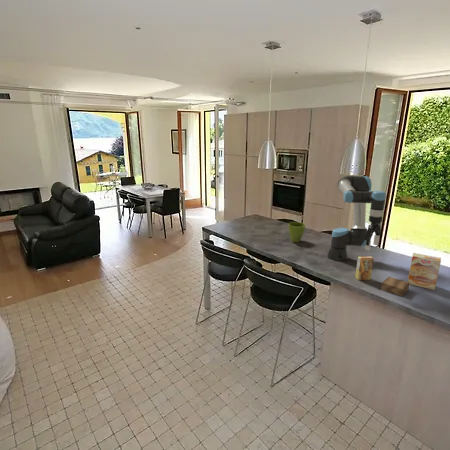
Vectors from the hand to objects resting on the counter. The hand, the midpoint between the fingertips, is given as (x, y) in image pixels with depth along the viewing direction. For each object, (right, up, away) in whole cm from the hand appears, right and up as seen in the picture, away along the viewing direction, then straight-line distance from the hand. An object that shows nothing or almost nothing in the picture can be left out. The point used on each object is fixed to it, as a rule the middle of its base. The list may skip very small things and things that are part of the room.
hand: (371, 247), depth 197 cm
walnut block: (+10, -26, -9) cm, 29 cm away
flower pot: (-31, 0, +78) cm, 84 cm away
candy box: (-3, -22, +6) cm, 23 cm away
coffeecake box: (+30, -24, -3) cm, 39 cm away
